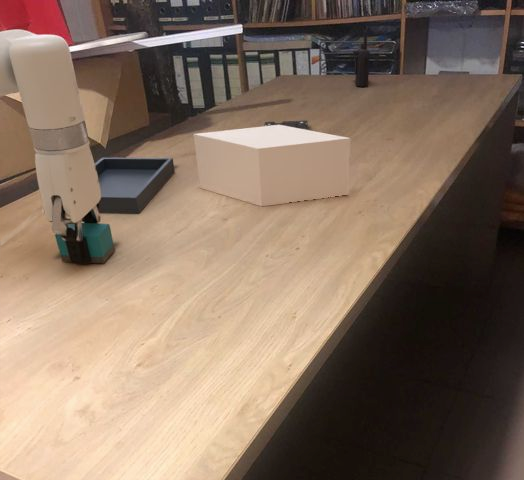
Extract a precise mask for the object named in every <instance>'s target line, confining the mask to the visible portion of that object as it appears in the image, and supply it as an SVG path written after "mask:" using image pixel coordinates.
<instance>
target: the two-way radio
mask: <svg viewBox="0 0 524 480" xmlns="http://www.w3.org/2000/svg"><path fill="white" fill-rule="evenodd" d="M352 51H353V52H352V55H353V58H354V74H355V81H354V82H355V84H354V85H355V86H357V87H360V88H367V87H368V86H369V76H370V75H369V74H370V71H369V70H370V53H371V52H370V50H369V49H368V30H367V29H365V30H364V31H363V42H362V43H360V48H358V49H357V50H352Z"/></svg>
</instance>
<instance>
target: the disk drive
mask: <svg viewBox="0 0 524 480" xmlns="http://www.w3.org/2000/svg"><path fill="white" fill-rule="evenodd" d="M272 125H284V126H289V127H294V128H299V129H305V130H309V123H308V120H287V121H285V120H284V121H282V122H275V121H265V122H264V125H263V126H272Z"/></svg>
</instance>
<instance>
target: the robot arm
mask: <svg viewBox="0 0 524 480" xmlns="http://www.w3.org/2000/svg"><path fill="white" fill-rule="evenodd" d="M17 93H19V97H20V100H21V104H22V109H23V113H24V115H25V119H26V123H27V125H28V129H29V134H30V138H31V142H32V145H33V149H34V152H35V154H34V166H35V173H36V179H37V185H38V189H39V194H40V200H41V204H42V207H43V208H42V209H43V212H44V216H45V219H46V221H47V222H49V223H51V231H52V233H53V234H58V235H60V236H61V237H62V239H63V240H64V241H65V242H66V246H67V250H68V254H69V257H70V261H71V262H70V261H69V262H70V263H71V264H87V265H88V264H91V263H90V262H91V257H90V253H89V249H88V245H87V241H86V238H83V233H82V225H81V223H98V224H101V223H100V222H101V221H102V219H101V215H100V214H101V213H99V207H100V206H99V201H100V199H101V190H100V184H99V179H98V175H97V171H96V167H95V161H94V157H93V153H92V150H91V148H90V144H91V143H90V138H89V134H88V129H87V124H86V119H85V115H84V110H83V105H82V101H81V96H80V92H79V86H78V82H77V77H76V72H75V69H74V63H73V59H72V53H71V50H70V46H69V44H68V42H67V40H66V39H64V38H63V37H62V36H59V35H56V34H36V33H34V32H31V31H29V30H24V29H8V30H2V31H0V98H2V97H4V96H8V95H11V94H17ZM67 216H70V217H69V218H67ZM68 224H74V226H75V230H73V229H72V228H68Z"/></svg>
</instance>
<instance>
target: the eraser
mask: <svg viewBox="0 0 524 480" xmlns="http://www.w3.org/2000/svg"><path fill="white" fill-rule="evenodd" d="M81 225H82V233H83V238H86V241H87V245H88V249H89V253H90V257H91V262H90V263H89V264H91V263H92V264H105V263H106V261H108V259H109V258H110V257H111V256H112V254H113V253H114V252H115V249H116V248H115V244H114V239H113V235H112V229H111V225H110V223H100V224H98V223H84V222H81ZM68 228H72V229H73V230H75V226H74V224H68ZM54 238H55V241H56V244H57V248H58V251H59V255H60V259H61V262H70V263H72V262H71V261H70V257H69V254H68V250H67V246H66V242H65V241H64V240H63V239H62V237H61V236H60V235H58V234H56V233H54Z"/></svg>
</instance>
